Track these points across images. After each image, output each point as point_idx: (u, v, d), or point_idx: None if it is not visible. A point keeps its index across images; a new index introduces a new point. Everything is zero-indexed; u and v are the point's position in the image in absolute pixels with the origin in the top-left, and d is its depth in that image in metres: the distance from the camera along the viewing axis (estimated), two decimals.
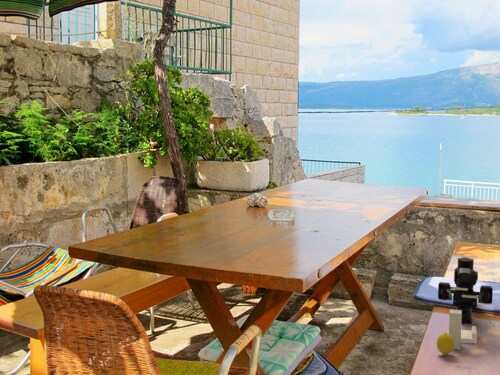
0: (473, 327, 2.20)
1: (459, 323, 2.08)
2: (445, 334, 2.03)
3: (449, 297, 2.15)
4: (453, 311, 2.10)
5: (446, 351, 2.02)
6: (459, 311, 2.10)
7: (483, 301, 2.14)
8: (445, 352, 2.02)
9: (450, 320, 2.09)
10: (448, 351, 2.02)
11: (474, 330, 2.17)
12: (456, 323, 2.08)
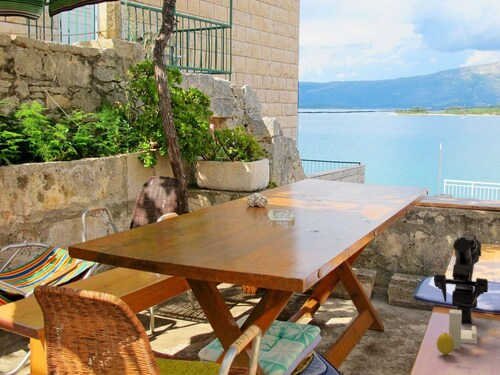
0: (473, 327, 2.20)
1: (459, 323, 2.08)
2: (445, 334, 2.03)
3: None
4: (453, 311, 2.10)
5: (446, 351, 2.02)
6: (459, 311, 2.10)
7: (478, 295, 2.18)
8: (445, 352, 2.02)
9: (450, 320, 2.09)
10: (448, 351, 2.02)
11: (474, 330, 2.17)
12: (456, 323, 2.08)
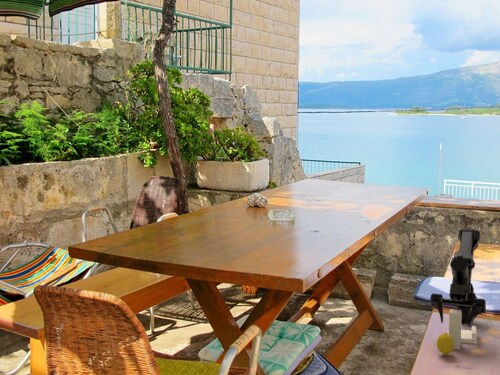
0: (473, 327, 2.20)
1: (459, 323, 2.08)
2: (445, 334, 2.03)
3: None
4: (453, 311, 2.10)
5: (446, 351, 2.02)
6: (459, 311, 2.10)
7: (475, 315, 2.12)
8: (445, 352, 2.02)
9: (450, 320, 2.09)
10: (448, 351, 2.02)
11: (474, 330, 2.17)
12: (456, 323, 2.08)
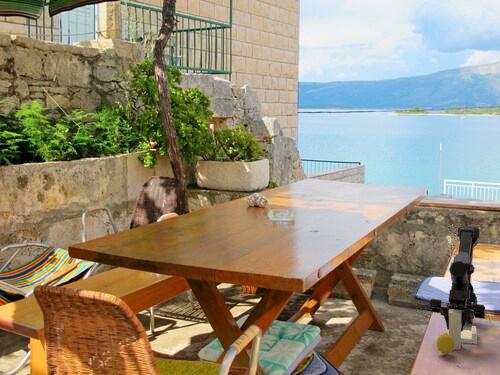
0: (473, 327, 2.20)
1: (459, 323, 2.08)
2: (445, 334, 2.03)
3: None
4: (453, 311, 2.10)
5: (446, 351, 2.02)
6: (459, 311, 2.10)
7: (468, 320, 2.12)
8: (445, 352, 2.02)
9: (450, 320, 2.09)
10: (448, 351, 2.02)
11: (474, 330, 2.17)
12: (456, 323, 2.08)
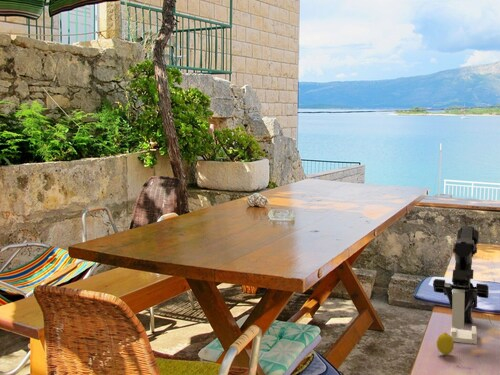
0: (473, 327, 2.20)
1: (462, 302, 2.10)
2: (445, 334, 2.03)
3: None
4: (456, 291, 2.12)
5: (446, 351, 2.02)
6: (462, 291, 2.12)
7: (471, 300, 2.14)
8: (445, 352, 2.02)
9: (453, 300, 2.11)
10: (448, 351, 2.02)
11: (474, 330, 2.17)
12: (460, 302, 2.10)
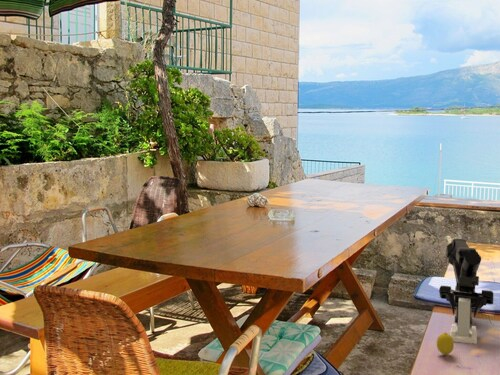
0: (473, 327, 2.20)
1: (468, 311, 2.16)
2: (445, 334, 2.03)
3: (452, 310, 2.20)
4: (462, 299, 2.18)
5: (446, 351, 2.02)
6: (468, 299, 2.18)
7: (480, 306, 2.19)
8: (445, 352, 2.02)
9: (459, 308, 2.17)
10: (448, 351, 2.02)
11: (474, 330, 2.17)
12: (465, 311, 2.16)
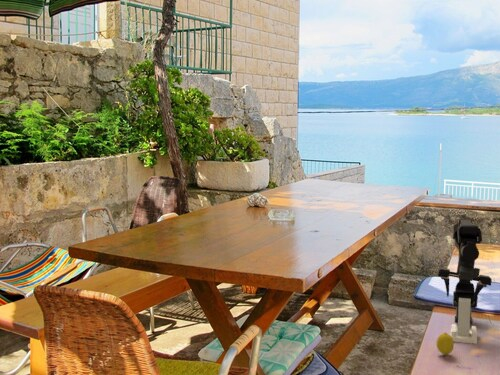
0: (473, 327, 2.20)
1: (468, 311, 2.16)
2: (445, 334, 2.03)
3: None
4: (462, 299, 2.18)
5: (446, 351, 2.02)
6: (468, 299, 2.18)
7: None
8: (445, 352, 2.02)
9: (459, 308, 2.17)
10: (448, 351, 2.02)
11: (474, 330, 2.17)
12: (465, 311, 2.16)
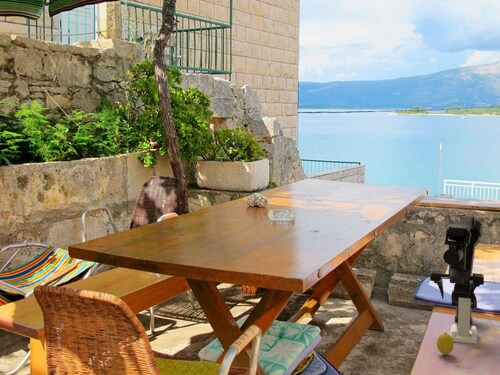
0: (473, 327, 2.20)
1: (468, 311, 2.16)
2: (445, 334, 2.03)
3: (441, 294, 2.24)
4: (462, 299, 2.18)
5: (446, 351, 2.02)
6: (468, 299, 2.18)
7: None
8: (445, 352, 2.02)
9: (459, 308, 2.17)
10: (448, 351, 2.02)
11: (474, 330, 2.17)
12: (465, 311, 2.16)
